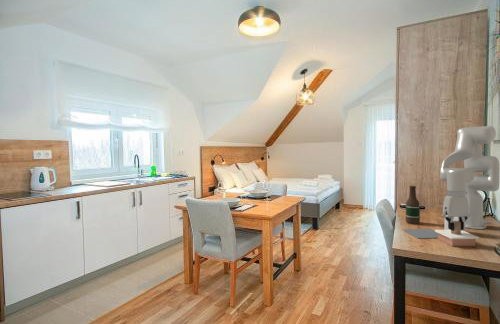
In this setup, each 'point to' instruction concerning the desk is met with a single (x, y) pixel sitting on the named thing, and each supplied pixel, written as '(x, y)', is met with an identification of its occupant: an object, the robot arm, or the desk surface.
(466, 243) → the terracotta square tray
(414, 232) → the mat
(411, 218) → the beer bottle
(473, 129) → the robot arm
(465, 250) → the desk surface
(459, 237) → the cover
